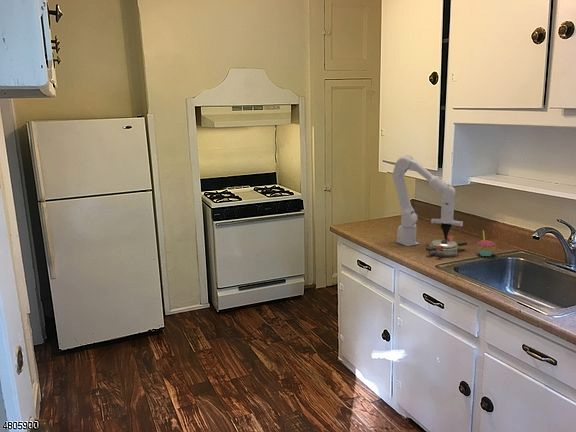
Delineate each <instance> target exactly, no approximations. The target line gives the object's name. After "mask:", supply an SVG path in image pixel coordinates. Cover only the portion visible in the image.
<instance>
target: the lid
mask: <svg viewBox="0 0 576 432" xmlns="http://www.w3.org/2000/svg"><path fill="white" fill-rule="evenodd" d="M453 239H454V235H449V234H448V235H447V237H446V238H445V239H434V240H432V241H431V243H432V245H433V246H435V247H436V250H441V251H442V250H443V248H454V247H456V246H457V243H456V241H453Z"/></svg>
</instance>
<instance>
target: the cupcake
mask: <svg viewBox="0 0 576 432" xmlns="http://www.w3.org/2000/svg"><path fill="white" fill-rule="evenodd" d="M475 245H476V249H478V254H479V255H480V256H481V257H484V256H486V257H487V256H489V257H491V256H492V253H493V251H495V250H496V248H497V245H496V243H495V242H494V241H492V240H488V239H486V237H485V231H484V230H482V239H480V240H479V241H477V242H476V243H475ZM487 258H488V257H487Z"/></svg>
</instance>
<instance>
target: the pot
mask: <svg viewBox="0 0 576 432" xmlns="http://www.w3.org/2000/svg"><path fill="white" fill-rule="evenodd" d="M455 242H456V241H455ZM456 243H457V246H456V247H454V248H443V250H442V251H441V250H436V247H435V246H433V245H432V242H430V244H429V246H428V247H425V251H427V252H430V255H432V256H435V257H439V258H454V257H456V256H458V249H459V247H462V246H463V247H464V246H467V245H468V241H464V240H461V241H457V242H456Z"/></svg>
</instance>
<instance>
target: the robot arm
mask: <svg viewBox="0 0 576 432" xmlns="http://www.w3.org/2000/svg"><path fill="white" fill-rule="evenodd" d="M407 171H414V172H417V173H418V174H419V175H420V176H422V177H423V178H424V179H425V180H427V181H428V185H429V187H431V188H433V190H435V191H436V192H437V193H438V194H440V196H441V198H442V200H441V209H440V218H431V221H430V223H431V224H439V225H440V228H441V230H442V232H443V236H444V238H443V240H445V238H446V237H447V236H448V235H449V232H450V230H451V228H452V226H457V227H463V226H464V225H463V224H464V221H461V220H455V219H454V214H455V213H454V211H455V195H456V188H455V187H454V186H452V185H450V184H451V183H450V184H449V183H447V182H446V181H444V179H443V177H442V176H438V175H433V174H432V173H431V172H430V171H429V170H428V169H426V167H424V166H423V165H422V164H421V163H420V162H419V161H418V160H417V159H415V158H413V156H411V155H405V156H403V157H402V156H401V157H399V158H398V159H397V160H396V162H395V163H394V168H393V171H392V175H391V176H392V178H393V179H392V180H393V184H394V186H395V191H396V194H397V199H398V201H399V206H400V209H401V210H400V215H401V217H400V218H401V219H400V222H401V224H400V225H399V226H398V228H397V236H396V237H397V239H396V240H395V242H396V243H398V244H401V245H403V246H406V247H410V246H415V245H420V244H421V243H420V242H418V241H417V224H416V223H417V222H418V219H419V218H418V214H417V213H416V212H415V209H414V208H413V206H412V203H411V199H410V195H409V192H408V188H407V183H406V180H405V174H406V173H407Z"/></svg>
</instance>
